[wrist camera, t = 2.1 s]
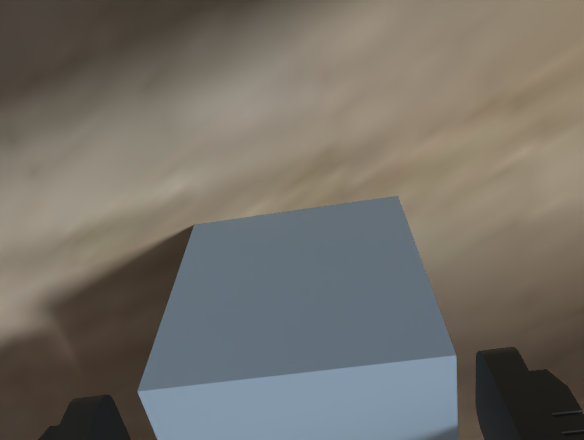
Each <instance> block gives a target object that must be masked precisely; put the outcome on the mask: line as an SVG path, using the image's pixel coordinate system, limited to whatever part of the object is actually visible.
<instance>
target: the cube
mask: <svg viewBox="0 0 584 440" xmlns="http://www.w3.org/2000/svg"><path fill="white" fill-rule="evenodd" d="M137 392H138V394H139V397H140V399H141V402H142V404H143V406H144V409H145V411H146V414H147V416H148V418H149V421H150V423H151V426H152V428H153V430H154V433H155V435H156V438H157V440H458V409H457V361H456V353H455V350H454V347H453V345H452V342H451V339H450V337H449V334H448V331H447V328H446V326H445V323H444V320H443V318H442V315H441V312H440V309H439V307H438V304H437V301H436V298H435V296H434V293H433V290H432V288H431V285H430V282H429V279H428V277H427V274H426V271H425V269H424V266H423V263H422V260H421V258H420V255H419V252H418V249H417V247H416V244H415V241H414V239H413V236H412V233H411V230H410V228H409V225H408V222H407V220H406V217H405V214H404V211H403V209H402V206H401V203H400V200H399V198H398V196H394V197H387V198H380V199H373V200H366V201H359V202H352V203H345V204H338V205H330V206H323V207H316V208H309V209H302V210H295V211H288V212H281V213H274V214H267V215H260V216H253V217H245V218H238V219H231V220H224V221H217V222H210V223H203V224H196V225H194V227H193V230H192V233H191V236H190V239H189V241H188V244H187V247H186V250H185V253H184V256H183V259H182V262H181V265H180V268H179V271H178V274H177V277H176V280H175V283H174V285H173V288H172V291H171V294H170V297H169V300H168V303H167V306H166V309H165V312H164V315H163V318H162V321H161V324H160V327H159V329H158V332H157V335H156V338H155V341H154V344H153V347H152V350H151V353H150V356H149V359H148V362H147V365H146V368H145V371H144V374H143V376H142V379H141V382H140V385H139V388H138V391H137Z"/></svg>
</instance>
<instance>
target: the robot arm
mask: <svg viewBox="0 0 584 440" xmlns="http://www.w3.org/2000/svg"><path fill="white" fill-rule="evenodd" d="M476 410H477V416H478V420H479V424H480V428H481V431H482V433H483V436H484V439H485V440H584V414H583V413H582V409H581V407H580V406H579V404H578V402H577V401H576V399H575V398H574V396H573V394H572V393H571V391H570V389H569V388H568V387H567V386H566V385H565V384H564V383H562V382H561V381H560V380H559V379H558V378H556V377H555V376H554V375H553V374H551V373H550V372H549V371H548V370H547V369H544V370H535V371H529V370H528V368H527V367H526V365H525V363H524V361H523V359H522V357H521V355H520V354H519V352H518V350H517V349H516V348H515V347H508V348H499V349H491V350H483V351H478V352H477V355H476ZM38 440H131V439H130V437H129V434H128V432H127V430H126V428H125V425H124V423H123V421H122V418H121V416H120V414H119V412H118V409H117V407H116V405H115V403H114V400H113V399H112V397H111V396H110V395H101V396H93V397H85V398H76V399H73V400H72V401H71V402H70V404H69V406H68V408H67V410H66V412H65V414H64V416H63V419H62V421H61V423H60V425H58V426H50V427H49V428H48V429H47V430H46V432H45V433H44V434H43V435H42V436H41V437H40V438H39V439H38Z"/></svg>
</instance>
